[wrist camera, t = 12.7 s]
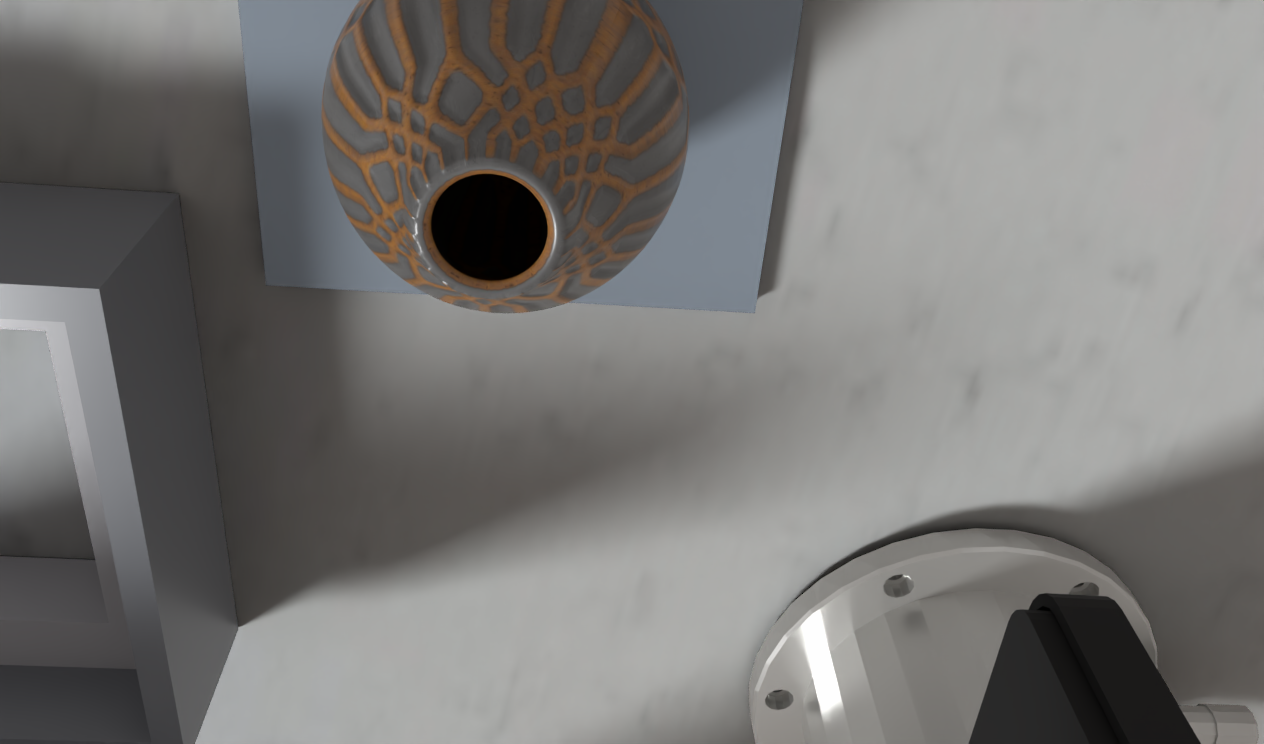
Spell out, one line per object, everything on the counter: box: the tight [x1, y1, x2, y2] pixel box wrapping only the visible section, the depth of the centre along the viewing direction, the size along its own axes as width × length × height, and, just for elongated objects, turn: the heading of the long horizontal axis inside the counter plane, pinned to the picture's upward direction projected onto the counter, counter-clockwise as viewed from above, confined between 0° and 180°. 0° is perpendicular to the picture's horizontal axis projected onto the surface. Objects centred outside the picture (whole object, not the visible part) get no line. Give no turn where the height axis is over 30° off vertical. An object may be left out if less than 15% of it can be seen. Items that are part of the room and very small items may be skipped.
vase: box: [321, 0, 690, 313], centre depth 21 cm, size 7×7×9 cm
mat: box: [238, 0, 804, 313], centre depth 25 cm, size 12×12×1 cm
